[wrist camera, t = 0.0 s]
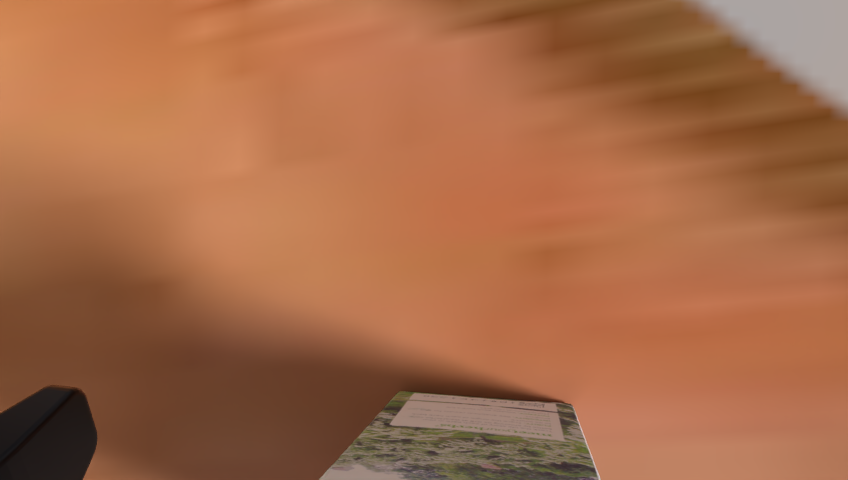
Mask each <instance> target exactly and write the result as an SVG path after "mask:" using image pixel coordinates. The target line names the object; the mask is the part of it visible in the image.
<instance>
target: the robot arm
mask: <svg viewBox="0 0 848 480" xmlns="http://www.w3.org/2000/svg"><path fill="white" fill-rule="evenodd" d="M96 445H97V431H96V427H95V424H94V421H93V418H92V414H91V411H90V408H89V405H88V401H87V398H86V395H85V393H84V392H83V391H82V390H81V389H78V388H74V387H66V386H58V385H51V386H47V387H45V388H43V389H41V390H39V391H38V392H36V393H34V394H32V395H31V396H29V397H27V398H26V399H24V400H22V401H21V402H19V403H17V404H15V405H14V406H12V407H10V408H9V409H7V410H5V411H4V412H2V413H0V480H83V478H84V476H85V473H86V471H87V468H88V466H89V464H90V461H91V459H92V457H93V454H94V452H95V449H96Z"/></svg>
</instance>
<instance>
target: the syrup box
mask: <svg viewBox="0 0 848 480" xmlns="http://www.w3.org/2000/svg"><path fill="white" fill-rule="evenodd" d="M319 480H601V479H600V476H599V474H598V471H597V469H596V466H595V463H594V460H593V457H592V455H591V453H590V450H589V447H588V445H587V442H586V439H585V436H584V434H583V431H582V428H581V426H580V423H579V421H578V418H577V415H576V412H575V410H574V408H573V406H572V405H571V404H567V403H556V402H543V401H526V400H513V399H499V398H482V397H470V396H457V395H445V394H431V393H420V392H407V391H400V392H398V393H397V394H396V395H395V396H394V397H393V398H392V399H391V401H390V402H389V403H388V404H387V405H386V406H385V407H384V409H383V410H382V411H381V412H380V413H379V414H378V415H377V416H376V417H375V418H374V420H372V422H371V423H370V424H369V425H368V426H367V427H366V428H365V429H364V431H363V432H362V433H361V434H360V435H359V436H358V437H357V438H356V439H355V440H354V442H353V443H352V444H351V445H350V446H349V447H348V448H347V449H346V450H345V451H344V452H343V453H342V454H341V456H340V457H339V458H338V459H337V461H336V462H335V463H334V464H333V465H332V466H331V467H330V468H329V469H328V470H327V471H326V472H325V473H324V474H323V476H322V477H321V478H320V479H319Z"/></svg>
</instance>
